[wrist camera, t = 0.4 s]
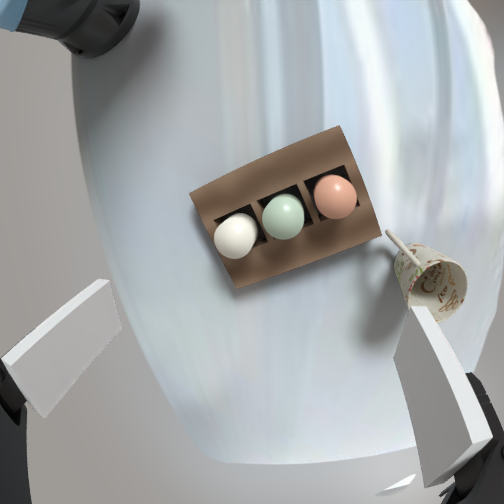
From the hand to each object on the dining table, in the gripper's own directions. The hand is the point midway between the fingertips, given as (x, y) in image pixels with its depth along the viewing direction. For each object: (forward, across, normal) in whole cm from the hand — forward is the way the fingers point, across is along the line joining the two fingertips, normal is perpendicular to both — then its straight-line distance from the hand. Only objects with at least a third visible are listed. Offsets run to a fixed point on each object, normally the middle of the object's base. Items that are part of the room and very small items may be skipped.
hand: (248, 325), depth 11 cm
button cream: (+24, -5, -3) cm, 24 cm away
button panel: (+27, 0, -1) cm, 27 cm away
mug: (+27, +17, -6) cm, 32 cm away
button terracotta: (+24, +5, +2) cm, 24 cm away
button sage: (+24, 0, -1) cm, 24 cm away
